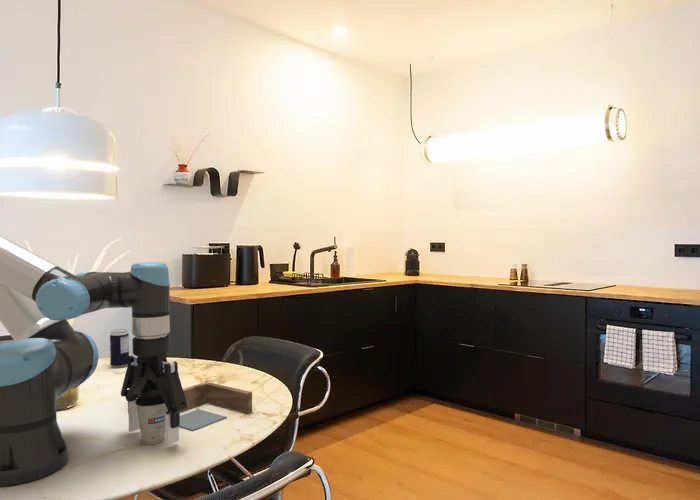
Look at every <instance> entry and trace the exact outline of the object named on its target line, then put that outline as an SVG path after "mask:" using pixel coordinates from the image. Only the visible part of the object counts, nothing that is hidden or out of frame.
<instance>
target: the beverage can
mask: <svg viewBox="0 0 700 500" xmlns="http://www.w3.org/2000/svg"><path fill="white" fill-rule="evenodd" d="M129 341H130V337H129V332H128V329H126V328H121V329H120V328H119V329H112V330H111V332H110V334H109V351H110V352H109V354H110V366H111V367H112V368H114V369H121V368H125V367H126V368H127V366H128V356H130V346H129V345H130V342H129Z"/></svg>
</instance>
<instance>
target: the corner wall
mask: <svg viewBox="0 0 700 500" xmlns="http://www.w3.org/2000/svg"><path fill="white" fill-rule="evenodd" d="M182 389H183V392H184V396H185V399H186V403H187V408H186V409H183V410H180V413H181V412H185V411H188V410H190V409H193V408H196V407H200V406H202V405H204V404H207V405H212V406H215V407H218V408H219V407H220V408H224V409H227V410H230V411H235V412H239V413H242V414H245V415H246V414H247V415H249V414H252V413H253V392H252V391H249V390H244V389H239V388H235V387H230V386H226V385H222V384H219V383H218V384H217V383H212V382H209V381H205V382H202V383H199V384H195V385H192V386H189V387H185V388H182ZM180 404H181V403H180ZM172 406H173V405H172Z"/></svg>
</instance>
